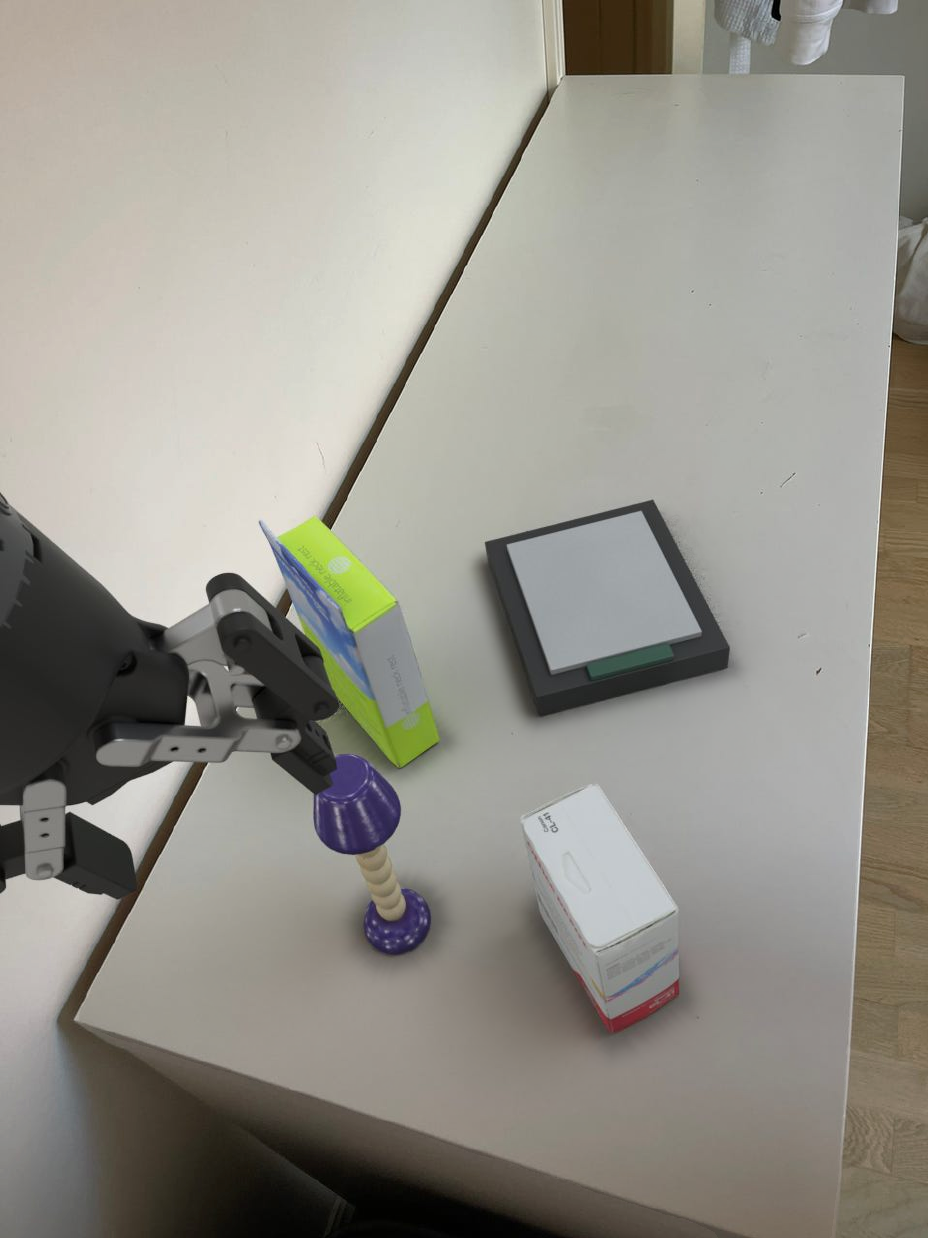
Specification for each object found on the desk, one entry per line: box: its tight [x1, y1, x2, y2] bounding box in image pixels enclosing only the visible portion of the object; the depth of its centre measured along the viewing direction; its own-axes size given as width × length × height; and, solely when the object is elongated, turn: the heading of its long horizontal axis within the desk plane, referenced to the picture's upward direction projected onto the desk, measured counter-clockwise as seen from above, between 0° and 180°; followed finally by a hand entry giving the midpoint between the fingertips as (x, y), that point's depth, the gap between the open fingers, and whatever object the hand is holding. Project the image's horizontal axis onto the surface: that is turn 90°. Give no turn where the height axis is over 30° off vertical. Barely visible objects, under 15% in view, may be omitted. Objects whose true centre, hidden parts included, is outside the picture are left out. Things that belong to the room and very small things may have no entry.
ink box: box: [519, 782, 680, 1034], centre depth 54 cm, size 9×5×12 cm, turn 25°
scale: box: [484, 499, 731, 717], centre depth 75 cm, size 16×14×3 cm
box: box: [258, 515, 440, 769], centre depth 66 cm, size 10×4×17 cm, turn 36°
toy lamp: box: [312, 753, 432, 956], centre depth 56 cm, size 5×5×17 cm
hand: (223, 822), depth 38 cm, fingers open, 8 cm apart
